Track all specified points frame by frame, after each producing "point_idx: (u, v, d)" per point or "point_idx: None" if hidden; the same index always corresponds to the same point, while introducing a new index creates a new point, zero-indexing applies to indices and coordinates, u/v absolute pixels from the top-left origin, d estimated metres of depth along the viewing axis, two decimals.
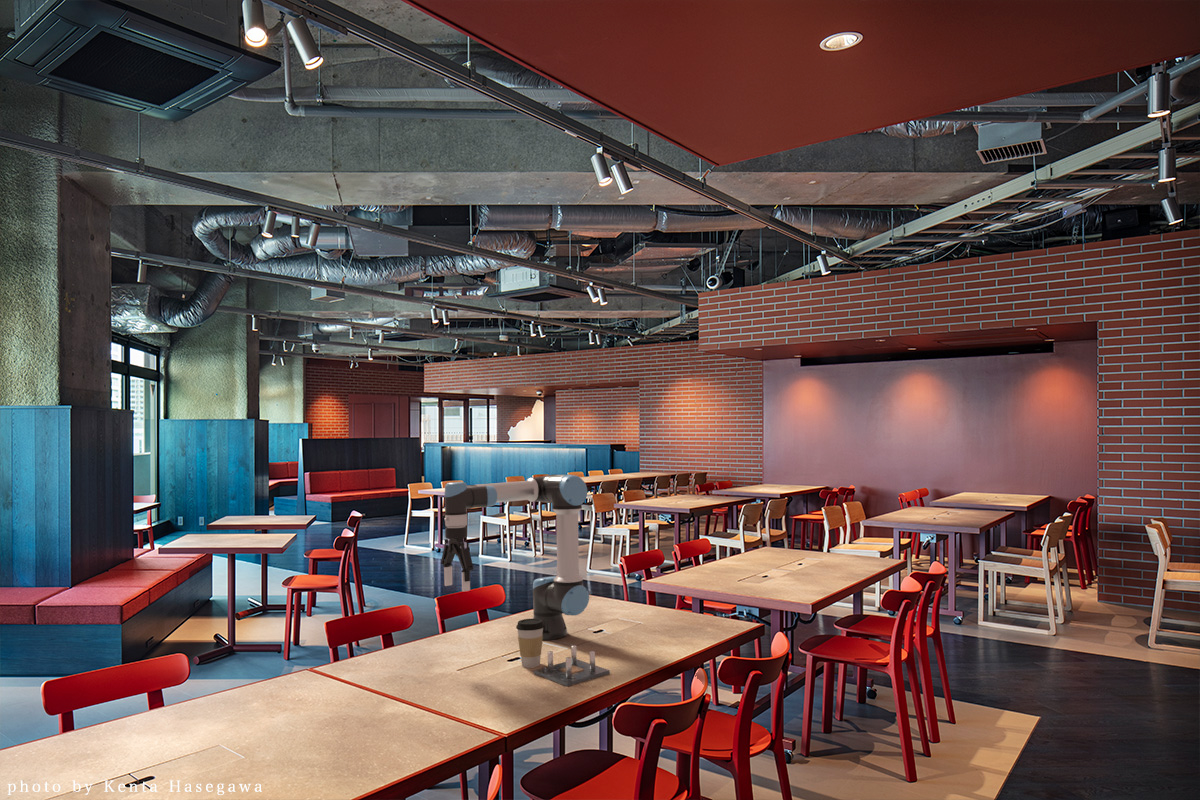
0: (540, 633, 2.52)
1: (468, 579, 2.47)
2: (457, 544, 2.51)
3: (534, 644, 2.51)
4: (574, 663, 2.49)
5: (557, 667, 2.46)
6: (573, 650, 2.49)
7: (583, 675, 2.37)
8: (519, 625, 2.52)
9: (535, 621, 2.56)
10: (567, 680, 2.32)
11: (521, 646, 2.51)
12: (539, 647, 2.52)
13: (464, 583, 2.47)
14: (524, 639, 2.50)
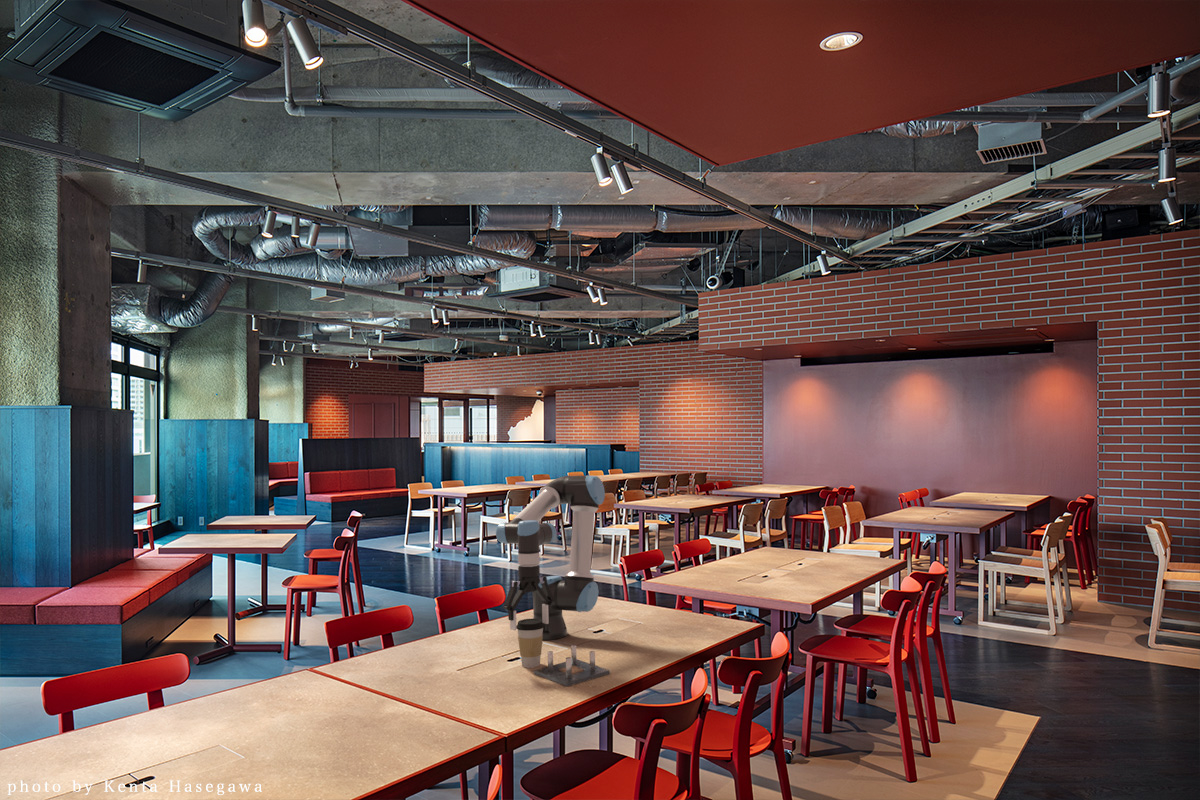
0: (540, 633, 2.52)
1: (509, 618, 2.49)
2: None
3: (534, 644, 2.51)
4: (574, 663, 2.49)
5: (557, 667, 2.46)
6: (573, 650, 2.49)
7: (583, 675, 2.37)
8: (519, 625, 2.52)
9: (535, 621, 2.56)
10: (567, 680, 2.32)
11: (521, 646, 2.51)
12: (539, 647, 2.52)
13: (511, 621, 2.50)
14: (524, 639, 2.50)
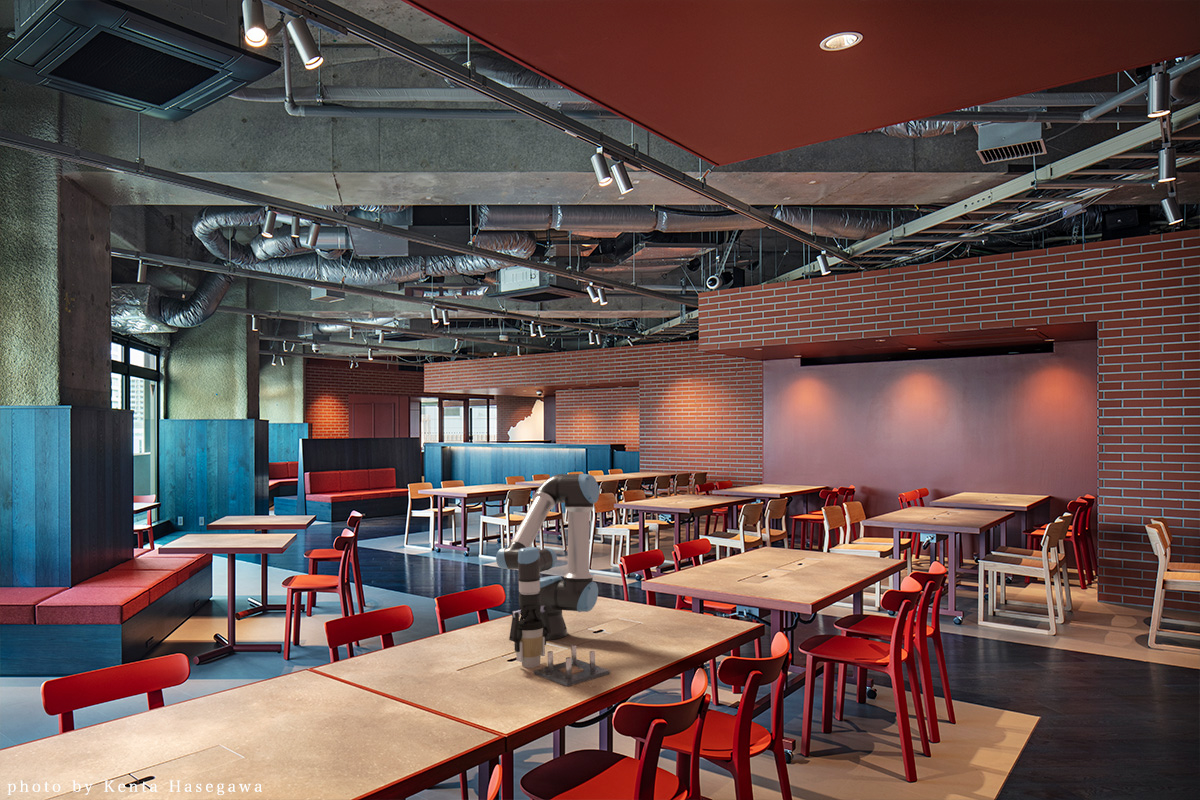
0: (540, 633, 2.52)
1: (516, 650, 2.50)
2: None
3: (534, 644, 2.51)
4: (574, 663, 2.49)
5: (557, 667, 2.46)
6: (573, 650, 2.49)
7: (583, 675, 2.37)
8: (519, 625, 2.52)
9: (535, 621, 2.56)
10: (567, 680, 2.32)
11: None
12: (539, 647, 2.52)
13: (517, 652, 2.51)
14: (524, 639, 2.50)
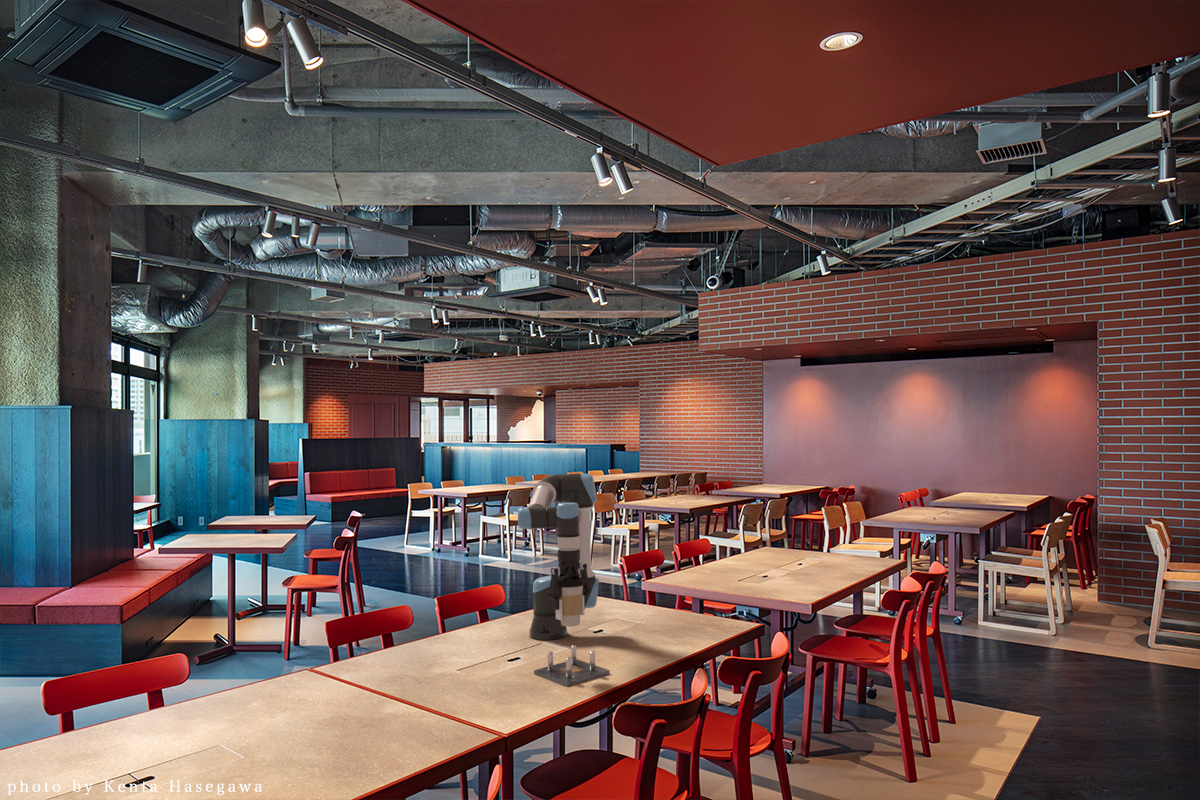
0: (580, 591, 2.42)
1: (555, 608, 2.40)
2: None
3: (574, 602, 2.41)
4: (574, 663, 2.49)
5: (557, 667, 2.46)
6: (573, 650, 2.49)
7: (583, 675, 2.37)
8: (558, 582, 2.42)
9: (574, 579, 2.45)
10: (567, 680, 2.32)
11: None
12: (579, 605, 2.42)
13: (556, 611, 2.41)
14: (564, 596, 2.40)
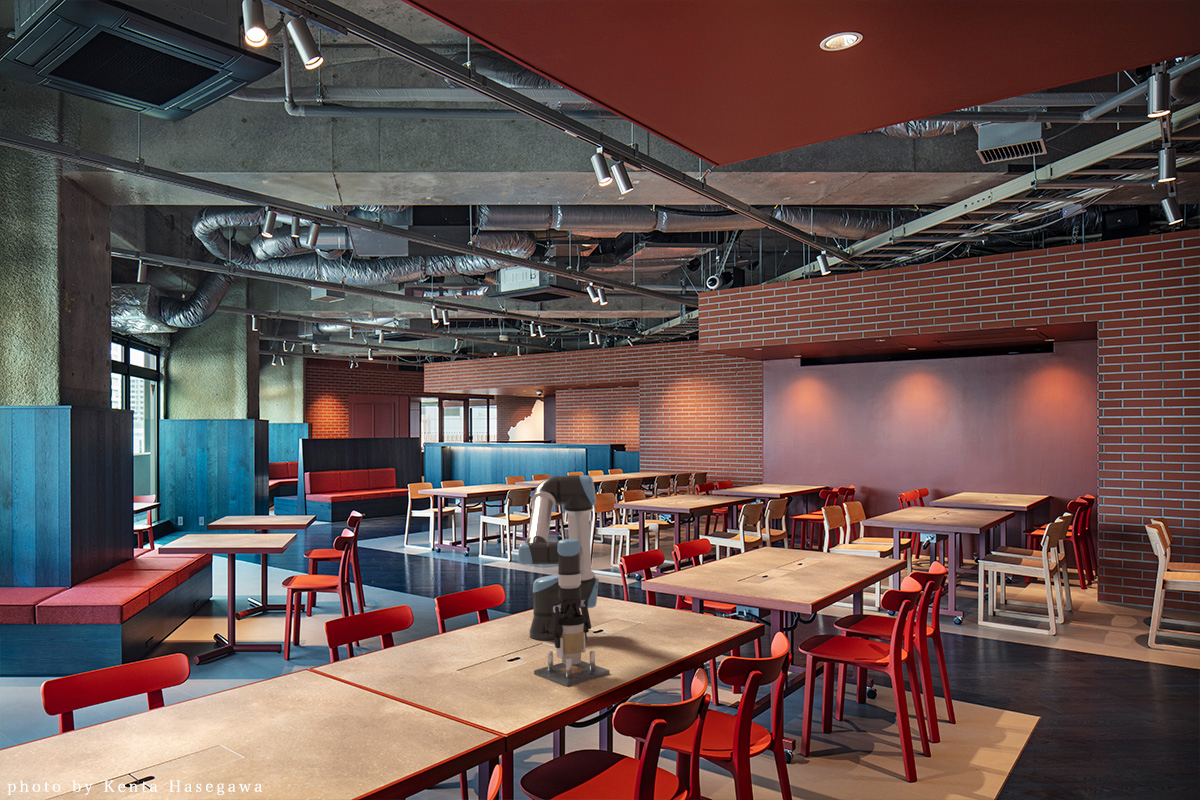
0: (581, 628, 2.41)
1: (556, 646, 2.39)
2: None
3: (575, 640, 2.40)
4: None
5: (557, 667, 2.46)
6: None
7: (583, 675, 2.37)
8: (559, 620, 2.41)
9: (575, 616, 2.45)
10: (567, 680, 2.32)
11: None
12: (580, 643, 2.41)
13: (557, 649, 2.40)
14: (565, 635, 2.39)
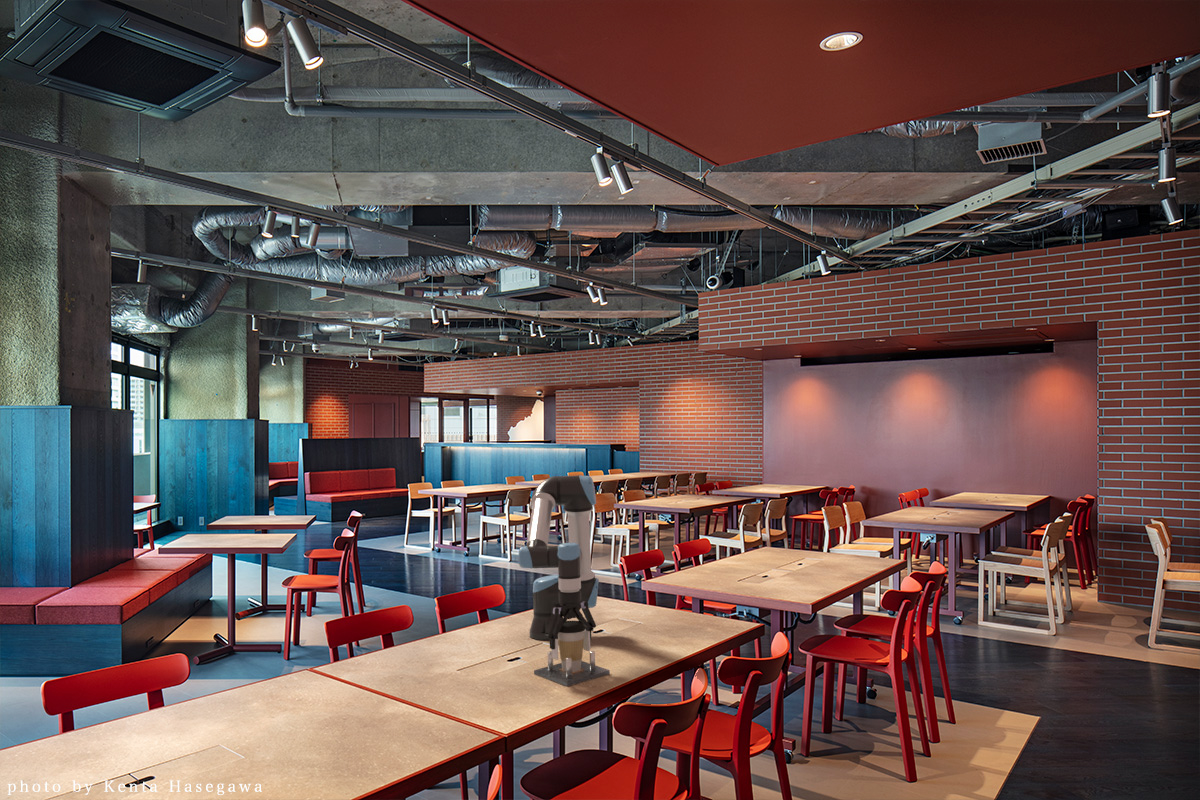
0: (581, 636, 2.41)
1: (551, 647, 2.38)
2: None
3: (576, 648, 2.40)
4: None
5: (557, 667, 2.46)
6: None
7: (583, 675, 2.37)
8: None
9: (576, 623, 2.45)
10: (567, 680, 2.32)
11: (562, 649, 2.40)
12: (580, 650, 2.41)
13: (552, 650, 2.39)
14: (565, 642, 2.39)
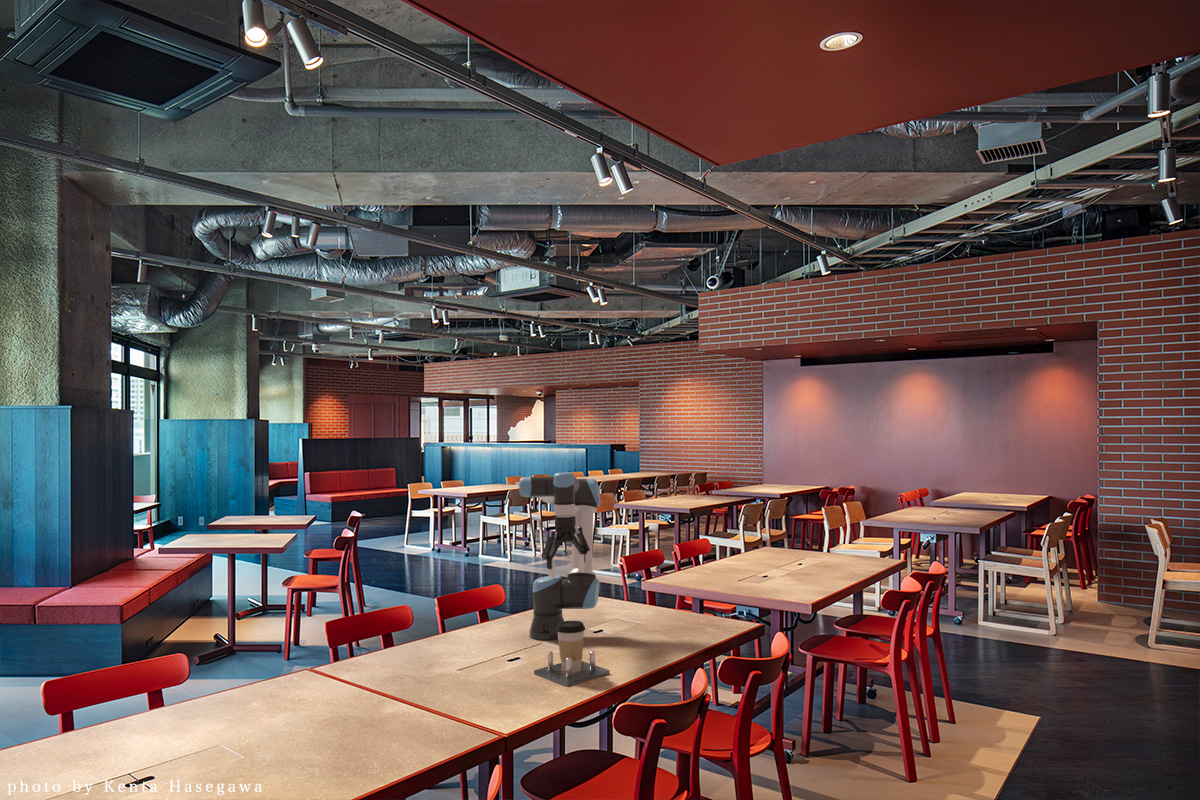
0: (581, 636, 2.41)
1: (548, 567, 2.56)
2: None
3: (576, 648, 2.40)
4: None
5: (557, 667, 2.46)
6: None
7: (583, 675, 2.37)
8: (559, 627, 2.41)
9: (576, 623, 2.45)
10: (567, 680, 2.32)
11: (562, 649, 2.40)
12: (580, 650, 2.41)
13: (549, 570, 2.57)
14: (565, 642, 2.39)
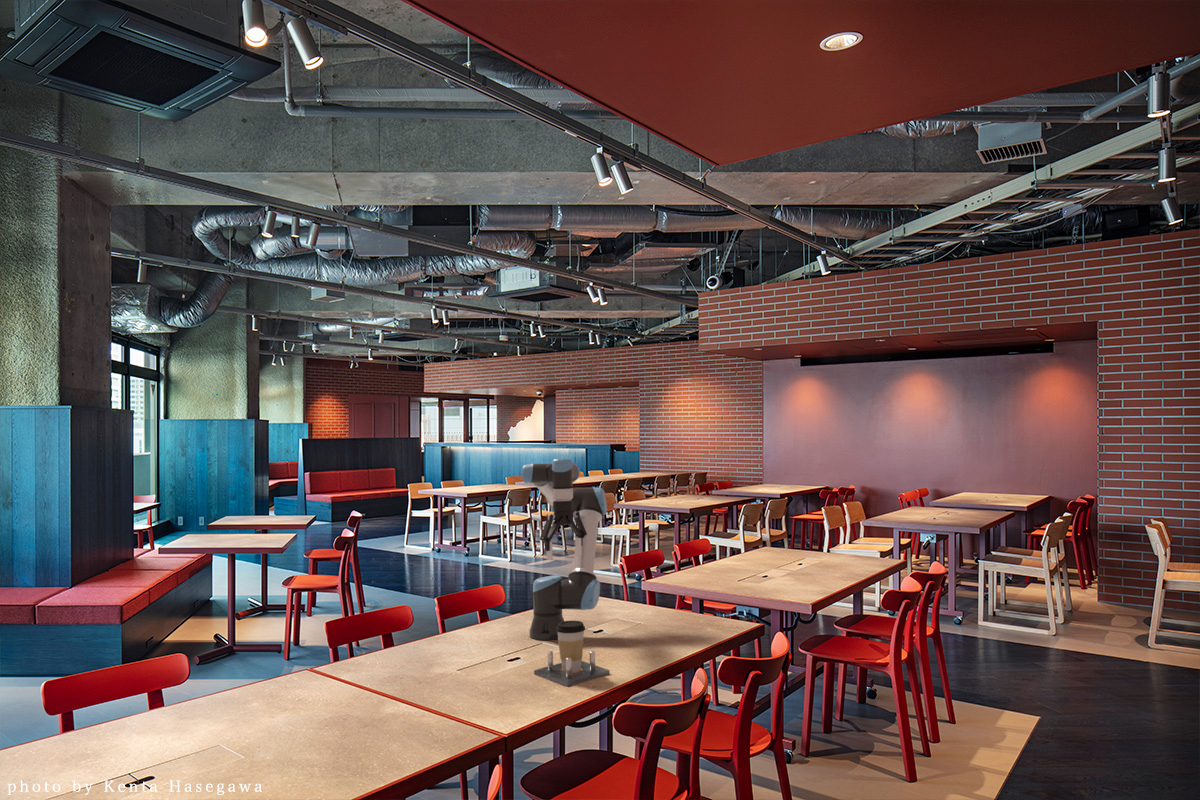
0: (581, 636, 2.41)
1: (546, 549, 2.64)
2: None
3: (576, 648, 2.40)
4: None
5: (557, 667, 2.46)
6: None
7: (583, 675, 2.37)
8: (559, 627, 2.41)
9: (576, 623, 2.45)
10: (567, 680, 2.32)
11: (562, 649, 2.40)
12: (580, 650, 2.41)
13: (547, 552, 2.66)
14: (565, 642, 2.39)
